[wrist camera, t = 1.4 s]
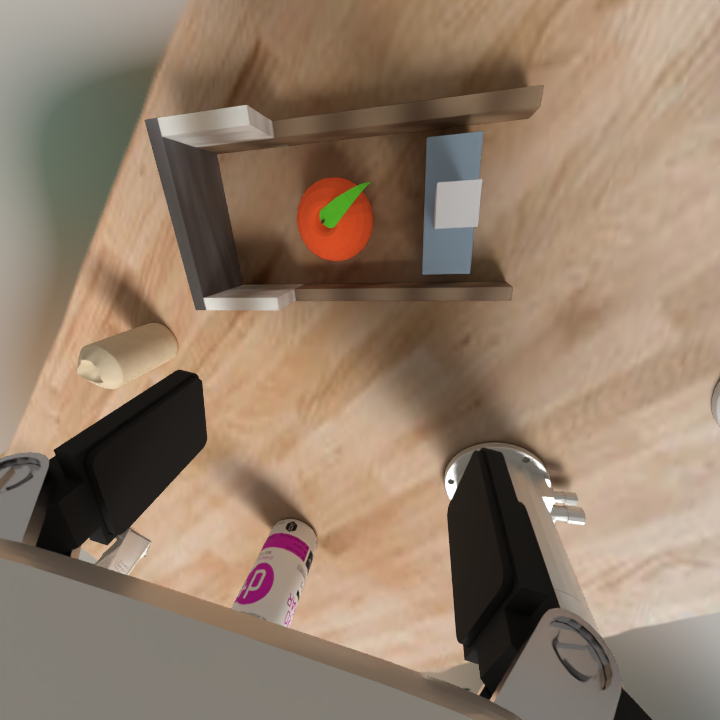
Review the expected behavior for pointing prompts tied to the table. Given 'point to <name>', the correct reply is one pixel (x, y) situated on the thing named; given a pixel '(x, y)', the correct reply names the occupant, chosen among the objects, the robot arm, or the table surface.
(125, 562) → the skyscraper
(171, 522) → the table surface
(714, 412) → the candlestick
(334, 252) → the clementine
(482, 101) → the frame
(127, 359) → the candle
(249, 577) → the supplement can
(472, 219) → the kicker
